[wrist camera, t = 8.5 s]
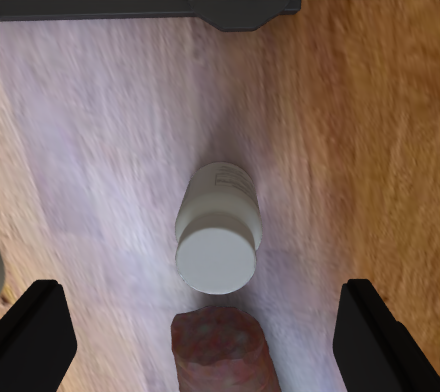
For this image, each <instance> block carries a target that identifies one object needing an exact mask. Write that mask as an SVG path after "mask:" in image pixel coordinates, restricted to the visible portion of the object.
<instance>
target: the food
mask: <svg viewBox="0 0 440 392" xmlns="http://www.w3.org/2000/svg"><path fill="white" fill-rule="evenodd" d="M171 336H172V352H173V355H174V359H175V364H176V369H177V377H178V382H179V390H180V392H282V391H281V389H280V386H279V382H278V378H277V374H276V371H275V368H274V365H273V361H272V359H271V357H270V354H269V347H268V344H267V341H266V339H265V336H264V332H263V330H262V328H261V326H260V324H259V322H258V321H257V320H256V319H255V318H254V317H252V316H251V315H249V314H248V313H247V312H244V311H241V310H239V309H237V308H235V307H215V306H207V307H204V308H201V309H199V310H196V311H191V312H188V313H181V314H176V316H175V317H174V319H173V322H172V324H171Z"/></svg>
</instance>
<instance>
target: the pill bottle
mask: <svg viewBox="0 0 440 392" xmlns="http://www.w3.org/2000/svg"><path fill="white" fill-rule="evenodd" d="M175 235H176V240H177V243H178V247H177V251H176V256H175V260H176V266H177V270H178V272H179V275H180V276H181V277H182V279H183V280H184V281H185V282H186V283H187V284H188V285H189V286H191V287H192V288H194V289H195V290H198V291H200V292H203V293H207V294H227V293H230V292H233V291H236V290H238V289H240V288H241V287H243V286H244V285H245V284H246V283H247V282H248V281H249V280H250V279H251V277H252V275H253V273H254V271H255V267H256V251H257V249H258V247H259V245H260V242H261V239H262V221H261V216H260V212H259V207H258V201H257V196H256V191H255V187H254V184H253V182H252V180H251V178H250V177H249V175H248V174H247V173H246V172H245V171H244V170H243V169H241V168H240V167H238V166H236V165H234V164H231V163H227V162H215V163H211V164H208V165H206V166H204V167H202V168H200V169H199V170H198V171H197V172H196V173H195V174H194V175H193V176H192V178H191V179H190V181H189V184H188V187H187V189H186V192H185V195H184V198H183V201H182V204H181V207H180V209H179V212H178V215H177V219H176V223H175Z"/></svg>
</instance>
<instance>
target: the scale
mask: <svg viewBox="0 0 440 392" xmlns="http://www.w3.org/2000/svg"><path fill="white" fill-rule="evenodd" d="M300 9H301V0H0V21H40V20H82V19H125V18H167V17H199V18H201V19H202V20H204V21H206V22H207V23H209V24H210V25H212V26H214V27H215V28H217V29H218V30H220V31H223V32H247V31H255V30H257V29H258V28H260V27H261V26H263V25H264V24H266V23H267V22H269V21H270V20H272V19H273V18H275V17H276V16H278V15H294V14H296V13H297V12H298V11H300Z"/></svg>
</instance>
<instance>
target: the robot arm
mask: <svg viewBox="0 0 440 392" xmlns="http://www.w3.org/2000/svg"><path fill="white" fill-rule="evenodd" d="M76 351H77V340H76V336H75V332H74V329H73V325H72V321H71V317H70V313H69V309H68V305H67V301H66V298H65V294H64V290H63V287H62V285H61V284H58V282H57V281H56V280H36V281H34V282H33V283H32V285H31V286H30V287H29V288H28V289H27V290H26V291H25V292H24V294H23V295H22V296H21V297H20V298H19V299H18V300H17V301H16V303H15V304H14V305H13V306H12V307H11V308H10V309H9V310H8V312H7V313H6V314H5V315H4V316H3V317H2V318H1V319H0V392H56V391H57V389H58V387H59V385H60V383H61V381H62V379H63V377H64V375H65V374H66V372H67V370H68V368H69V366H70V364H71V362H72V360H73V358H74V356H75V354H76ZM333 353H334V357H335V359H336V362H337V365H338V367H339V370H340V373H341V375H342V378H343V381H344V384H345V386H346V389H347V392H440V377H439V375H438V374H437V373H436V371H435V370H434V368H433V367H432V365H431V364H430V362H429V361H428V359H427V358H426V356H425V355H424V354H423V352H422V351H421V349H420V348H419V346H418V345H417V343H416V342H415V340H414V339H413V338H412V336H411V335H410V333H409V332H408V330H407V329H406V327H405V326H404V325H403V324H402V323H401V322H399V321H396V320H395V318H394V317H393V315H392V314H391V312H390V311H389V309H388V308H387V306H386V305H385V303H384V302H383V300H382V299H381V297H380V296H379V294H378V293H377V291H376V290H375V288H374V287H373V285H372V284H371V282H370V281H369V280H368V279H349V280H348V282H347V283H345V284H343V285H342V289H341V295H340V301H339V308H338V314H337V320H336V326H335V332H334V338H333Z"/></svg>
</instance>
